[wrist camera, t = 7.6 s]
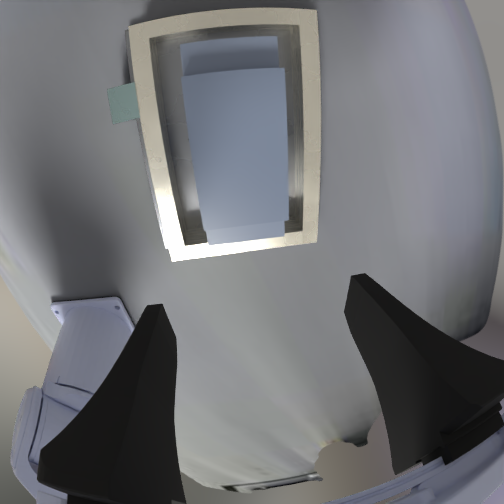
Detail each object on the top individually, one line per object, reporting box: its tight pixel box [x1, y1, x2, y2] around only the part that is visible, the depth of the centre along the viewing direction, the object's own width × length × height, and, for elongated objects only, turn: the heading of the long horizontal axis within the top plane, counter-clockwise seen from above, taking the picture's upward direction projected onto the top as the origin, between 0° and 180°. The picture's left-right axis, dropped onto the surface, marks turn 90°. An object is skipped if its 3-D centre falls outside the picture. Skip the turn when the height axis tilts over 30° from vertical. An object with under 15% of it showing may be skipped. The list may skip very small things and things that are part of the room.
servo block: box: [180, 36, 289, 246], centre depth 14 cm, size 10×4×6 cm, turn 4°
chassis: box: [107, 8, 321, 261], centre depth 15 cm, size 15×12×3 cm
